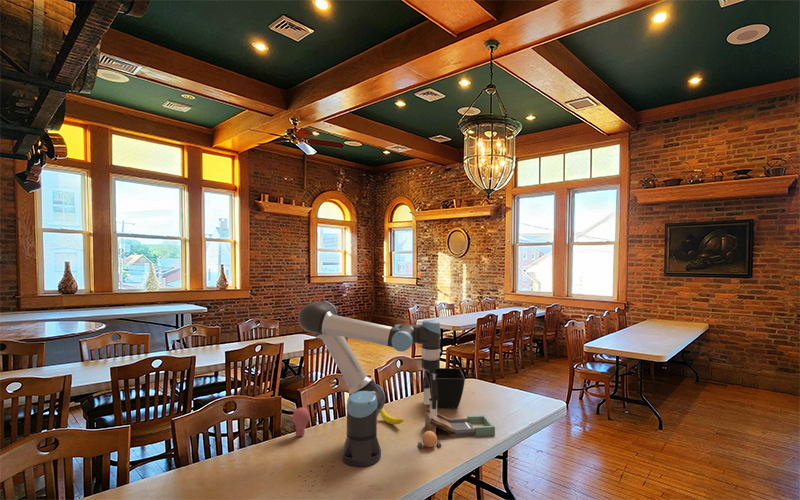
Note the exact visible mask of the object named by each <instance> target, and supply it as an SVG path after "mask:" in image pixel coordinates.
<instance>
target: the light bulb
mask: <svg viewBox="0 0 800 500" xmlns="http://www.w3.org/2000/svg"><path fill="white" fill-rule="evenodd" d="M309 419H310V412H309V410H308V409H307V408H306V407H298V408H297V409H295V411H294V412H293V414H292V421H293V424H294V425H295V436H296V437H304V435H305V429H306V426H307V424H308V422H309Z"/></svg>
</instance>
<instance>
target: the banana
mask: <svg viewBox="0 0 800 500" xmlns="http://www.w3.org/2000/svg"><path fill="white" fill-rule="evenodd" d="M379 415H380V416H381V418H382V420H383V421H384V422H385V423H386V424H387V423H388V424H390V425H399V424H402V423H403V422H404V421H405V420H404V419H403V418H399V417H398V418H397V417H393V416H391V415H389V414H388V413H387V412H386V410H385V409H384V407H383V408H382V410H381V411H380V413H379Z"/></svg>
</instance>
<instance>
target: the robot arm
mask: <svg viewBox="0 0 800 500" xmlns="http://www.w3.org/2000/svg"><path fill="white" fill-rule="evenodd" d="M297 320H298V321H297V322H298V324H299V326H300V328H301V329H303V331H305V332H308V333H312V334H314V335H315V337H316V338H317V339H321V340H322V342H323V343H324V345H325V347H326V348H327V350H328V352H329V354H330V356H331V358H332V359H333V361H334V362H335V364H336V366H337V368H338V370H339V371H340V373H341V375H342V377H343V378H344V380H345V382H346V383H347V385H348V387H349V391H348V394H349V396H348V398H347V401H346V408H345V409H346V438H345V441H344V444H343V447H342V450H341V460H342V461H343V463H344V464H346V465H348V466H351V467H360V468H361V467H362V468H363V467H368V466H372V465H374V464H376V463H378V462H380V460H381V458H382V449H381V446H380V443H379V439H378V435H377V433H378V431H377V427H378V426H377V423H378V416H379V415H380V411H381V410H382V408H383V409H384V405H385V403H386V402H385V401H386V395H385V392H384V389H383V388H382V387H381V386H380V385H379V384H376V381H375V380H374V379H373V377H370V376H367V374H366V371H364V368H363V367H362V365H361V363H360V361H359V360H358V358H357V356H356V355H355V353H354V351H353V350H352V348H351V346H350V344H349V343H348V341H347V339H354V340H357V341H362V342H367V343H372V344H376V345H381V346H386V347H389V348H393V349H395V351H397V352H400V353H401V352H406V351H407V350H409V349H410V348H411V347H412V345H413V344H421V357H422V358H421V368H422V369H424V371H423V380H422V385H423V405H429V409H430V417H437V413H438V408H437V400H439V398H438V385H437V374H436V373H435V370H436V369H439V368H441V365H440V363H441V360H440V358H441V357H440V356H441V355H440V354H441V353H442V350H441V322H439V321H438V320H433V319H427V320H426V319H425V320H423V321H422V323H421V324H406V323H405V324H404V323H400V324H398V323H397V324H395V325H394V326H389V325H385V324H380V323H379V324H378V323H374V322H371V321H366V320H365V321H364V320H361V319H356V318H355V319H354V318H351V317H347V316H346V317H345V316H342V315H338V312H337V308H336V307H335V305H334V304H332V303H331V302H329V301H327V300H318V301H316V302H313V303H308V304H305V305H304V306H303V307H302V308H301V309H300V310H299V312H298V315H297ZM346 338H347V339H346Z"/></svg>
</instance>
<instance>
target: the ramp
mask: <svg viewBox="0 0 800 500" xmlns="http://www.w3.org/2000/svg"><path fill="white" fill-rule="evenodd" d="M450 419H451V418H448V417H446V416H444V415H443V414H440V413H438V412H437V417H430V408H428V407H427V408H426V410H425V411H424V421H425V422H424V426H425V429H426V432H427V431H432V432H434V433H435V434H436V435H437V433H436V430H437V429H440V430H442V431H444V432H447V434H448V435H449V437H456V436H455V433H456V432H455V430H456V429H455V428H453V427H452V426H451V424H450V422H449V420H450ZM436 428H437V429H436Z"/></svg>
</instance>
